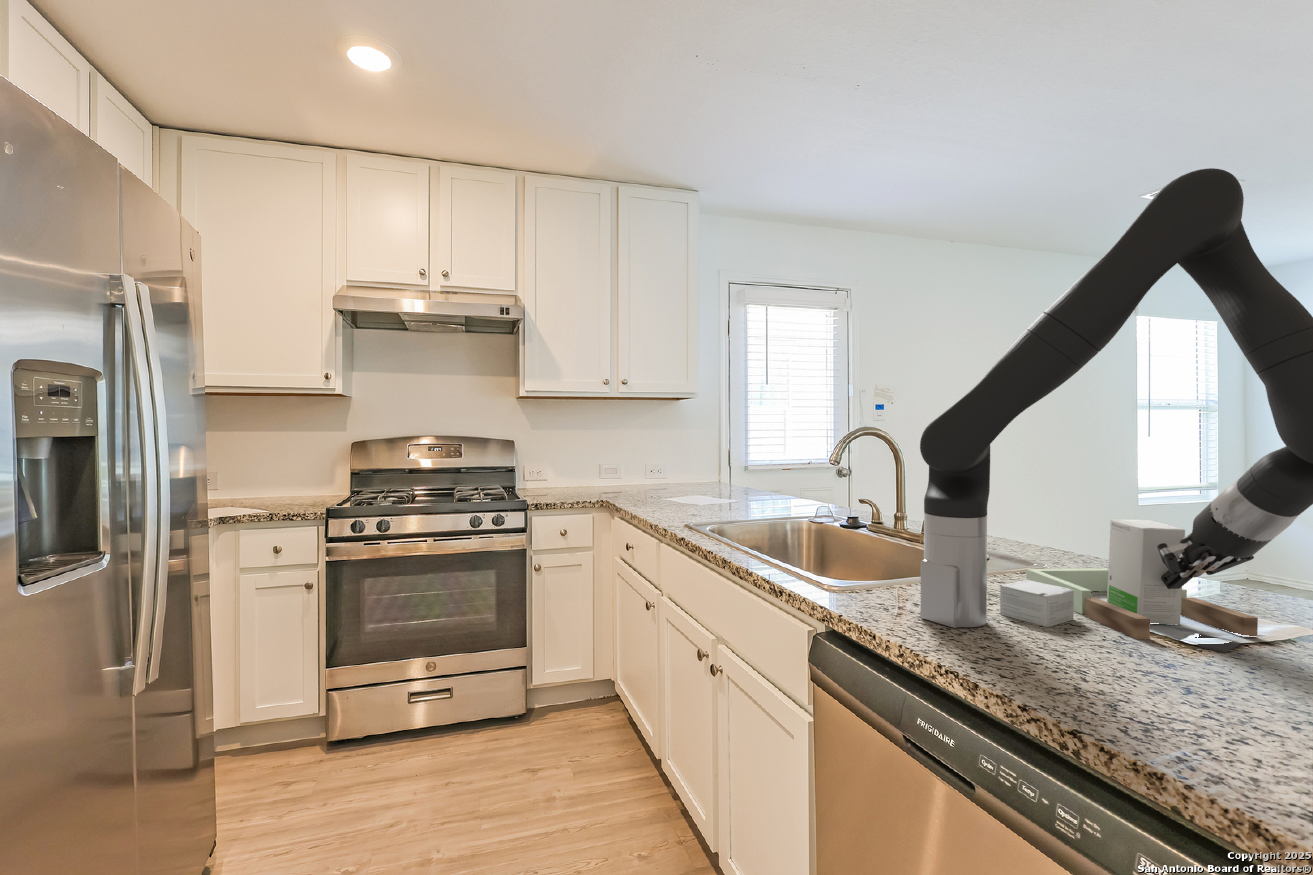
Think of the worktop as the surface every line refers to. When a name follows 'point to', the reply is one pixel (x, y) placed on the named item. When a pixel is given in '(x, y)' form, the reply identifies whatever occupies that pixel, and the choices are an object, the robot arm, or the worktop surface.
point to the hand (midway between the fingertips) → (1168, 583)
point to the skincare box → (1142, 569)
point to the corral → (1076, 582)
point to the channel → (1191, 608)
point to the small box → (1037, 602)
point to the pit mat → (1218, 645)
